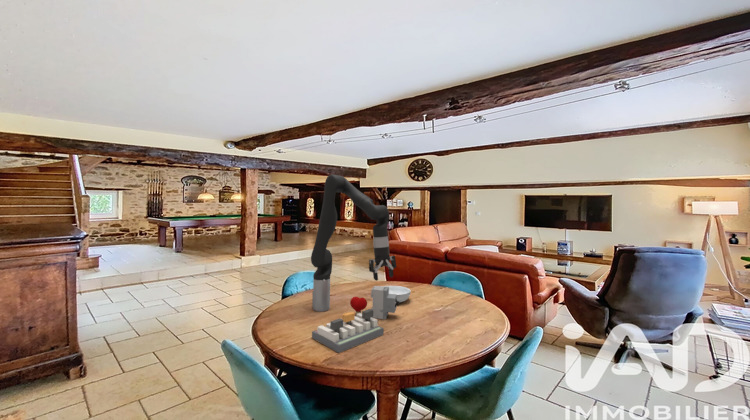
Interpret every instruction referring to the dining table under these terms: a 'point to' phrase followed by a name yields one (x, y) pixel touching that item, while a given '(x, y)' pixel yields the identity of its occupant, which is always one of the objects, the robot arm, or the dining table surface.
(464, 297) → the dining table surface
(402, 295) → the serving bowl
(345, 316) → the handle
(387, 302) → the circuit breaker
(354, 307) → the red plush heart
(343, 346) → the breaker panel
